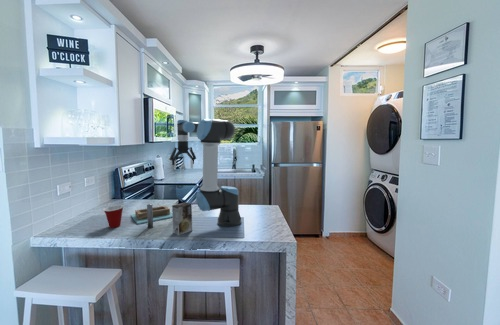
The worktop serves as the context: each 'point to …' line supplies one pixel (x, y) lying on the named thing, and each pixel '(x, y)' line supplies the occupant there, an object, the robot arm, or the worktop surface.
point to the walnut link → (156, 212)
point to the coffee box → (182, 218)
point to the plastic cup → (114, 215)
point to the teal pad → (153, 218)
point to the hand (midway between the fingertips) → (183, 169)
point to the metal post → (150, 215)
